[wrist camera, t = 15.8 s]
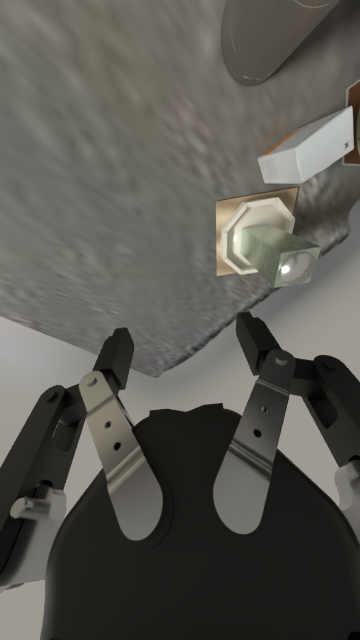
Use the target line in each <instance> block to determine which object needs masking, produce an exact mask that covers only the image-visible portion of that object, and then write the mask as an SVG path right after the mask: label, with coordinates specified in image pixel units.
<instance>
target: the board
mask: <svg viewBox="0 0 360 640" xmlns="http://www.w3.org/2000/svg"><path fill="white" fill-rule="evenodd" d="M297 191H298V187H296V188H290V189H284V190H278V191H273V192H267V193H261V194H255V195H250V196H244V197H238V198H233V199H227V200H221V201H216V245H217V276H219V275H225V274H232V273H238V272H237V271H235V270H234V269H233V268H232V267H231V266H229V265H228V264H227V263H226V262H225V261H224V260H223V259H222V258H221V248H220V238H221V228H222V227H223V226H224V225H225V223H226V221H227V219H228V218H229V217H230V215H231V214H232V213H233V212H234V211H235V210H236V209H237V208H238V207H239V206H240V205H241V203H242V202H246V201H251V200H255V199H263V198H269V197H278V198H279V199H280V200H281V201H282V203H283V204H284V205H285V206H286V208H287V209H288V210H289V212H290V213H291V214H293V209H294V205H295V200H296V196H297Z"/></svg>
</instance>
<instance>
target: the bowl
mask: <svg viewBox="0 0 360 640" xmlns="http://www.w3.org/2000/svg"><path fill="white" fill-rule="evenodd" d="M262 224H269V225H272V226H274V227H276V228H279V229H281V230H283V231H286V232H288V233H290V234H292V232H293V228H294V224H295V218H294V217H293V215H292V214H291V213H290V212H289V210H288V209H287V208H286V206H285V205H284V204H283V203H282V201H281V200H280V199H279V198H278V197H269V198H263V199H255V200H251V201H246V202H242V203H241V205H240V206H239V207H238V208H237V209H236V210H235V211H234V212H233V213H232V214H231V215H230V217H229V218H228V219H227V221H226V223H225V225H224V226H223V227H222V228H221V238H220V248H221V258H222V259H223V260H224V261H225V262H226V263H227V264H228V265H229V266H231V267H232V268H233V269H234V270H235V271H237V272H238V273H239V274H240V275H241V274H247V273H254V272H258V271H257V270H256V269H255V268H254V267H253V266H252V265H251V264H250V263H249V262H248V260H247V259H246V258H245V257H244V256H243V255H242V254H241V253H240V250H241V233H242V228H245V227H250V226H256V225H262Z"/></svg>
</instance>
